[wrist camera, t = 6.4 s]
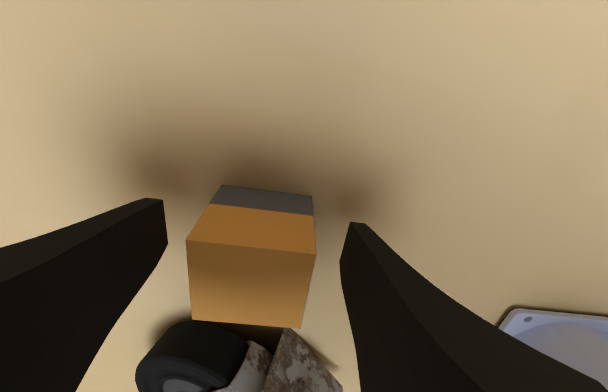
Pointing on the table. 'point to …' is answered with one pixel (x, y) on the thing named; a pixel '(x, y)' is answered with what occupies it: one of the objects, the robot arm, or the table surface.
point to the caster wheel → (229, 364)
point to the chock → (252, 258)
